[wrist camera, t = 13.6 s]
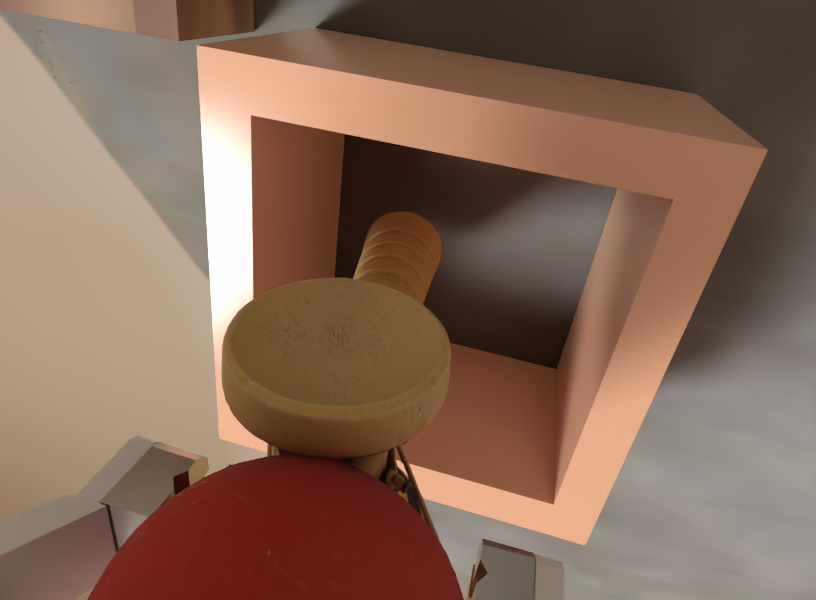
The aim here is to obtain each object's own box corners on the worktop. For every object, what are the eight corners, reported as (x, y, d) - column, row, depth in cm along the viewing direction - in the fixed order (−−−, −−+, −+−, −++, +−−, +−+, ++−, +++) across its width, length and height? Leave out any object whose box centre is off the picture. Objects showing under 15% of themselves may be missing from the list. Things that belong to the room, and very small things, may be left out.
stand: (696, 93, 19) (768, 149, 12) (579, 402, 26) (585, 545, 20) (314, 27, 21) (196, 45, 14) (302, 331, 28) (219, 438, 22)
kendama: (439, 358, 24) (312, 1041, 9) (305, 294, 23) (-90, 899, 8) (535, 207, 20) (621, 964, 5) (376, 126, 20) (-129, 674, 4)
